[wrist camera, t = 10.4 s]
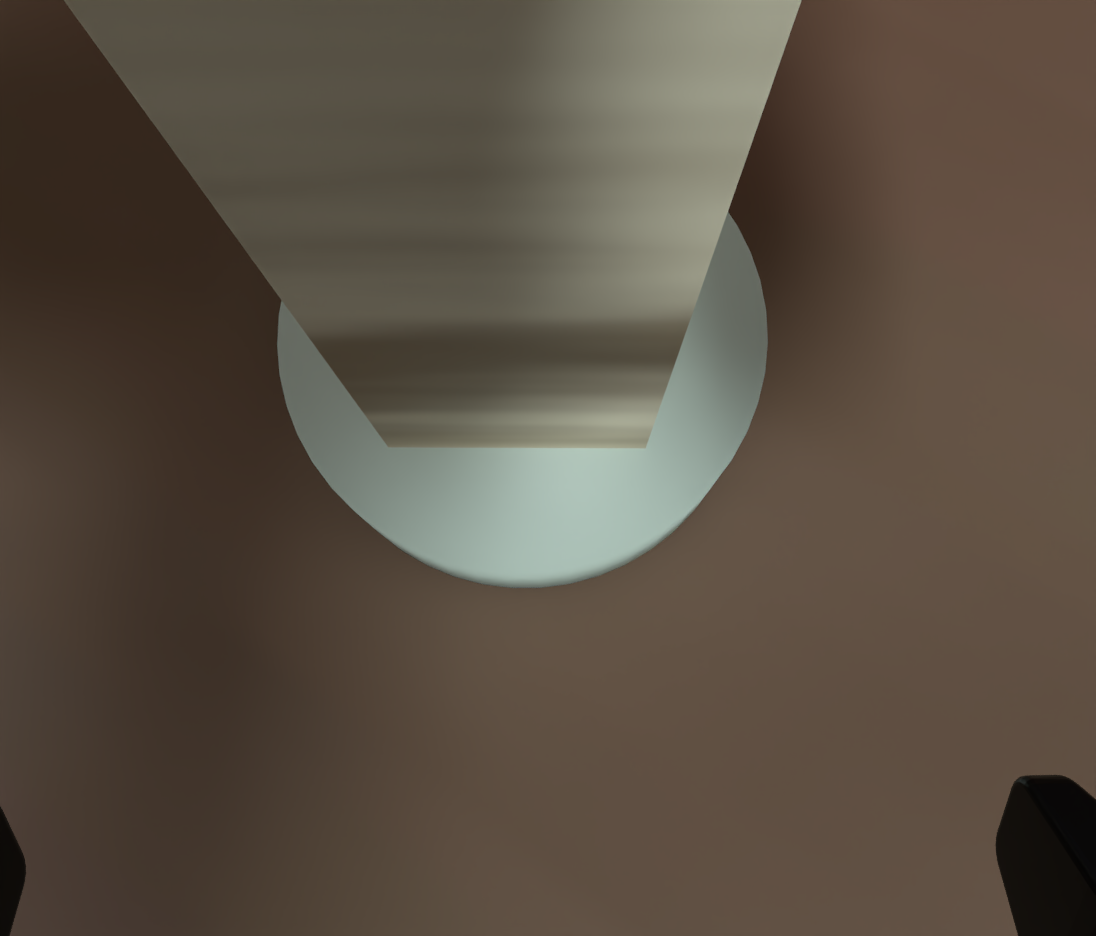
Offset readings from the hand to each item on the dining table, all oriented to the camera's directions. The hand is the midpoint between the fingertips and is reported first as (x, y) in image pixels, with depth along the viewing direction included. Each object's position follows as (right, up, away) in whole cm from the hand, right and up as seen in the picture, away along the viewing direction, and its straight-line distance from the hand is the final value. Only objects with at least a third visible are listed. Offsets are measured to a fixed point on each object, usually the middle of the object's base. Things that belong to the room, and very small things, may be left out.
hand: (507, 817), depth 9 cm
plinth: (0, +5, +13) cm, 14 cm away
